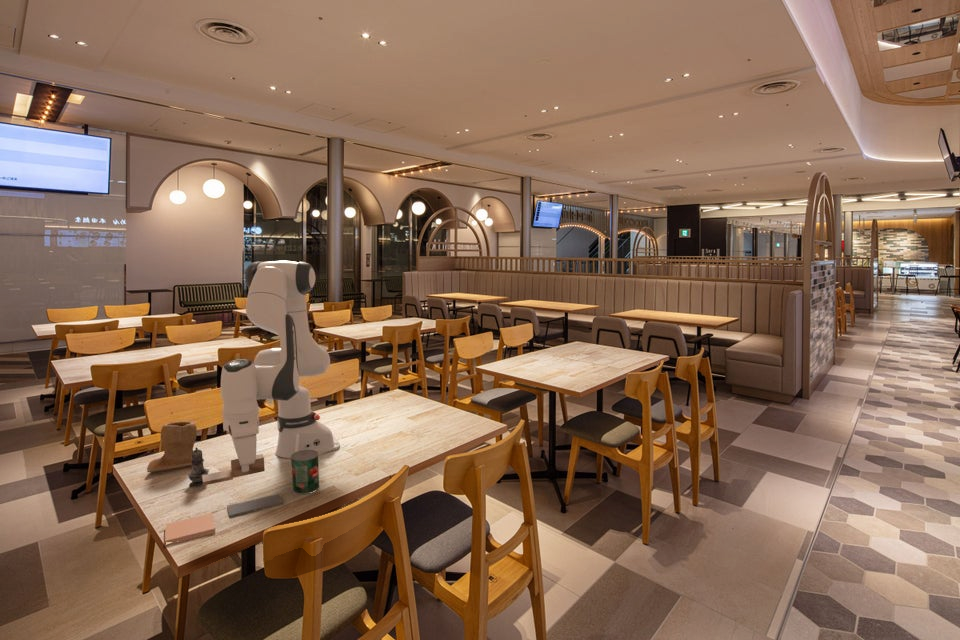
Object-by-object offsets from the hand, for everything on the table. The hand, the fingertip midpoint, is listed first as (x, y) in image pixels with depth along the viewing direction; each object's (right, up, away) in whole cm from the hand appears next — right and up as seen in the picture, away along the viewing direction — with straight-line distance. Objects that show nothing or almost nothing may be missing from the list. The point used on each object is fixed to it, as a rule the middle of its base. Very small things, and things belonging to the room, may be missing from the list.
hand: (244, 467), depth 134 cm
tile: (-7, -14, -3) cm, 16 cm away
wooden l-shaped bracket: (-2, -2, -1) cm, 3 cm away
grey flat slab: (0, -13, +7) cm, 15 cm away
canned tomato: (+11, -12, +18) cm, 24 cm away
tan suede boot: (-39, -10, +33) cm, 52 cm away
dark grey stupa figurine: (-24, -11, +20) cm, 33 cm away
